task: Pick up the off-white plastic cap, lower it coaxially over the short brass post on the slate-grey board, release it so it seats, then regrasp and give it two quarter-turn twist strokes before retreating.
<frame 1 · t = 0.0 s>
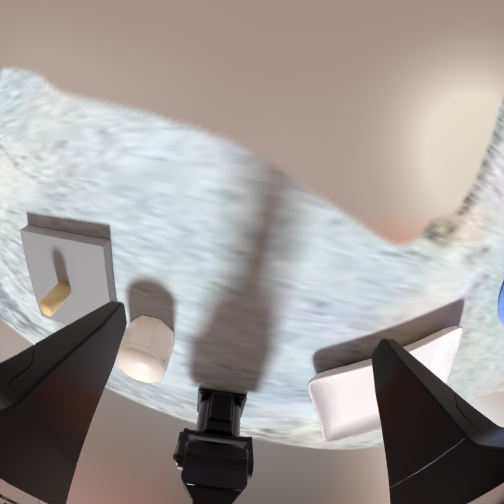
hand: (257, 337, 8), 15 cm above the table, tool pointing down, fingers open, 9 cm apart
cap: (152, 334, 28), on the table
post base: (71, 280, 25), on the table
salad plate: (382, 382, 33), on the table
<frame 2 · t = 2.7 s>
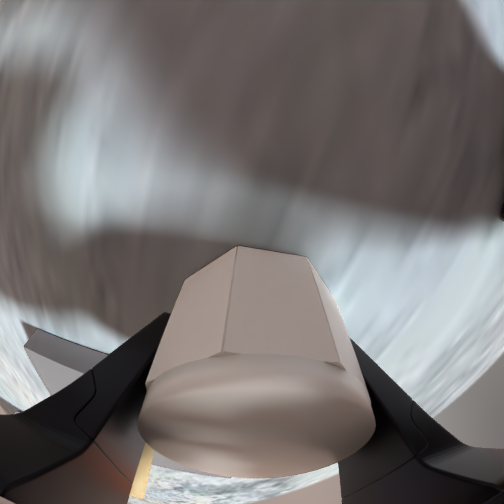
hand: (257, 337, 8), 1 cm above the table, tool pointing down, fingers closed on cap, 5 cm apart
cap: (257, 317, 9), on the table, touching gripper
post base: (147, 419, 13), on the table
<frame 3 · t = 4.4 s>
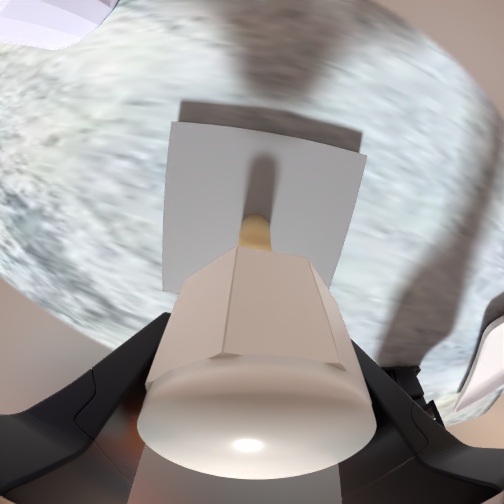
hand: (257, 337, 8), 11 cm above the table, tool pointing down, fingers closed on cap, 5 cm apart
cap: (257, 317, 9), point 10 cm above the table, touching gripper
post base: (255, 220, 19), on the table
soap bottle: (80, 4, 11), on the table
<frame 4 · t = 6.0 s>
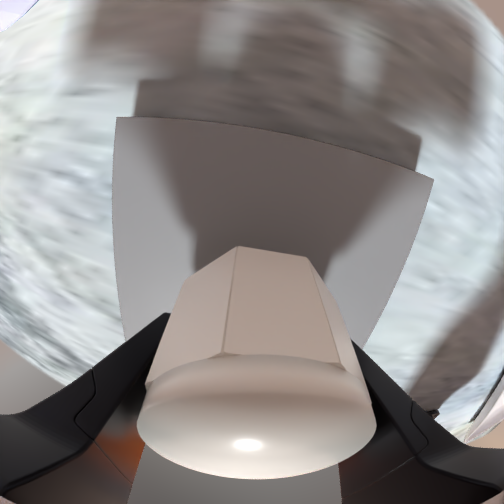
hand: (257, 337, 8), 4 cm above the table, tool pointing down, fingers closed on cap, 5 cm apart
cap: (257, 317, 9), point 3 cm above the table, touching gripper
post base: (256, 271, 12), on the table
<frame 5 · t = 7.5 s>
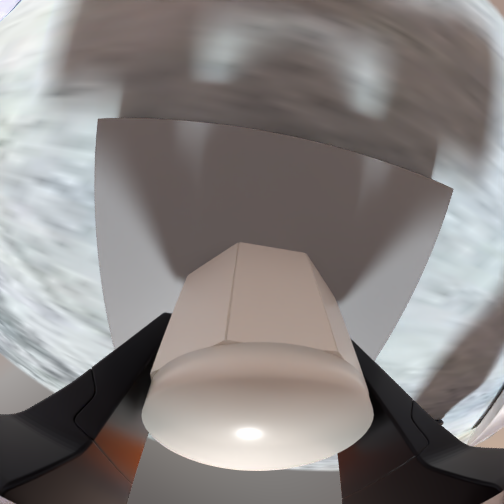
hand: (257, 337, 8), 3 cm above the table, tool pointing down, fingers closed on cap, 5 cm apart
cap: (257, 312, 10), point 2 cm above the table, touching gripper
post base: (256, 288, 11), on the table
when the fingers open (3 cm above the table, at t = 8.9 s): cap stays where it is, resting on post base.
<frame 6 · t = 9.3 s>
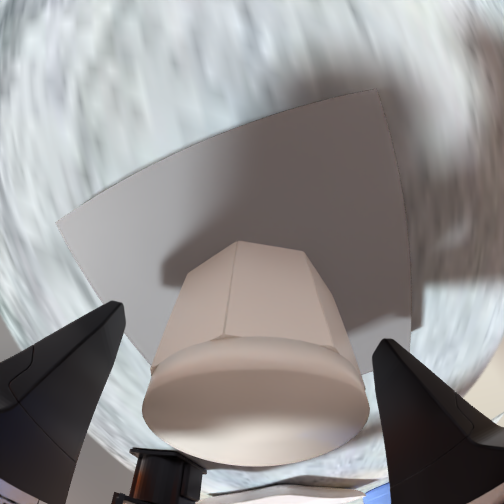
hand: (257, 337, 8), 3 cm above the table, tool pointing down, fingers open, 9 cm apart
cap: (256, 309, 10), point 1 cm above the table, touching post base
post base: (257, 286, 11), on the table
water jug: (395, 483, 35), on the table
salad plate: (280, 493, 31), on the table
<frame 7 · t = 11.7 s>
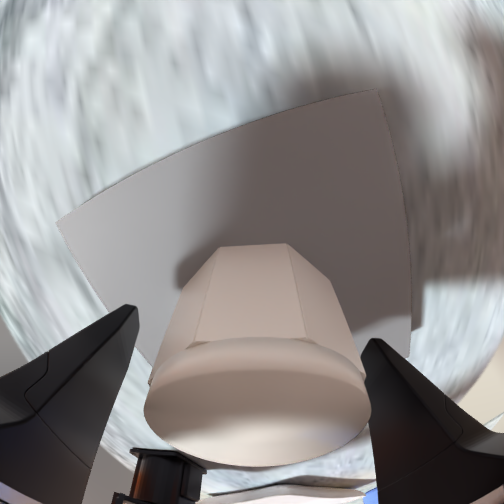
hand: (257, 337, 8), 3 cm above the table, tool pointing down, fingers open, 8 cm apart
cap: (257, 310, 10), point 1 cm above the table, touching post base
post base: (257, 286, 11), on the table
water jug: (395, 483, 35), on the table
salad plate: (280, 493, 31), on the table
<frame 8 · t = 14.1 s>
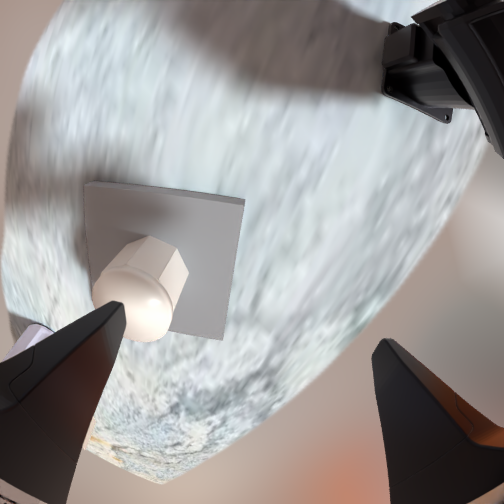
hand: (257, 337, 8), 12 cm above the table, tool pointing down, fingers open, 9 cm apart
cap: (153, 269, 20), point 1 cm above the table, touching post base
post base: (159, 260, 21), on the table
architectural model: (89, 411, 36), on the table
soap bottle: (53, 347, 28), on the table
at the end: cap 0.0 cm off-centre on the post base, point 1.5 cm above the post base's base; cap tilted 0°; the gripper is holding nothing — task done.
